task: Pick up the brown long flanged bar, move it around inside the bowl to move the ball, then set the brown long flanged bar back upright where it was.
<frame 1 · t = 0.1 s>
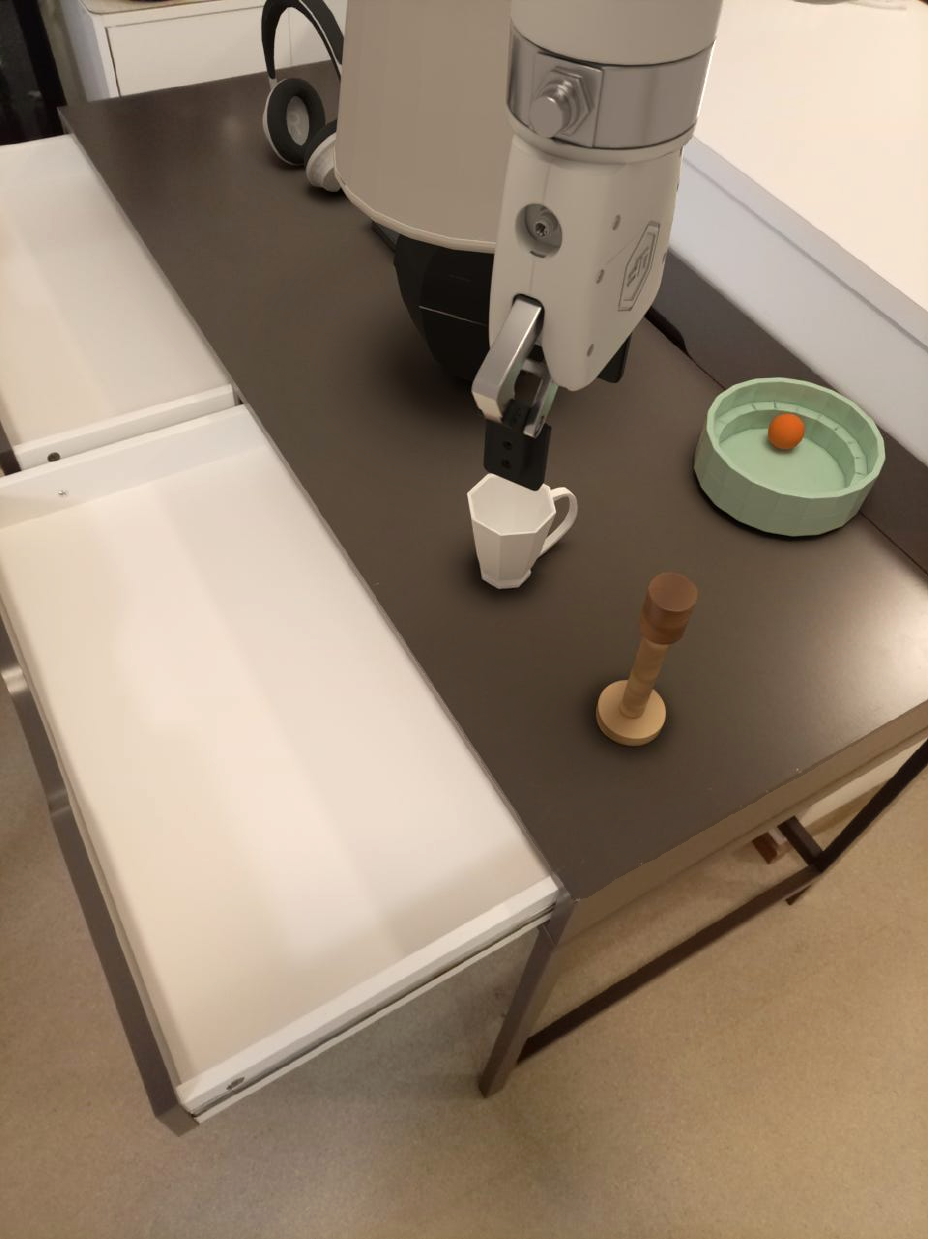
hand: (556, 422, 48), 25 cm above the table, tool pointing down, fingers open, 9 cm apart
phone: (442, 228, 105), on the table
table lamp: (485, 368, 90), on the table
cup: (519, 564, 75), on the table
brown long flanged bar: (629, 716, 66), on the table
headphones: (320, 176, 112), on the table
bowl: (775, 479, 82), on the table
ball: (786, 431, 82), point 2 cm above the table, touching bowl
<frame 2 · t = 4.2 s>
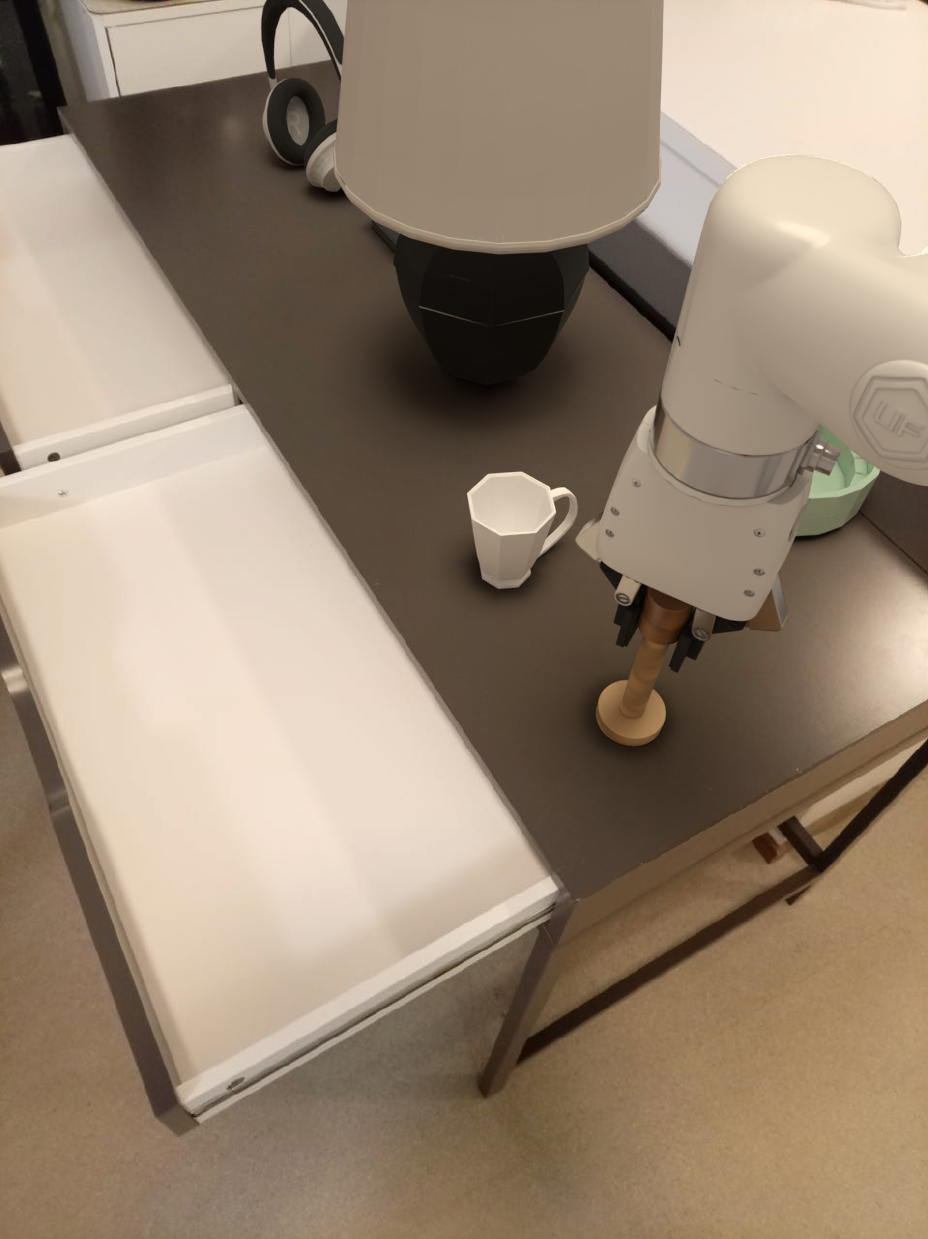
hand: (655, 641, 59), 10 cm above the table, tool pointing down, fingers closed on brown long flanged bar, 3 cm apart
brown long flanged bar: (629, 716, 66), on the table, touching gripper
everything else where it was.
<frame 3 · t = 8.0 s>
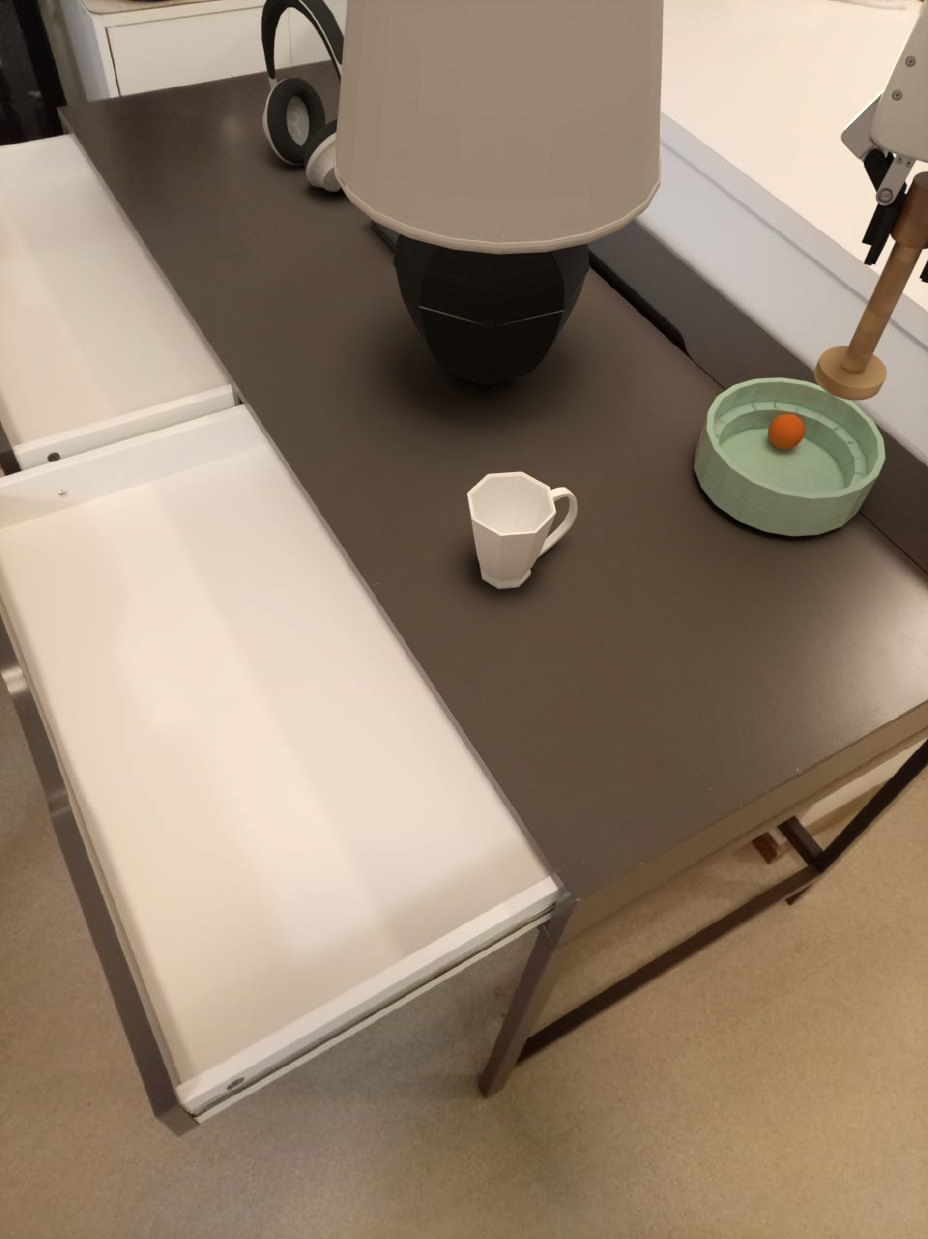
hand: (901, 261, 60), 24 cm above the table, tool pointing down, fingers closed on brown long flanged bar, 3 cm apart
brown long flanged bar: (846, 379, 68), point 14 cm above the table, touching gripper
everything else where it was.
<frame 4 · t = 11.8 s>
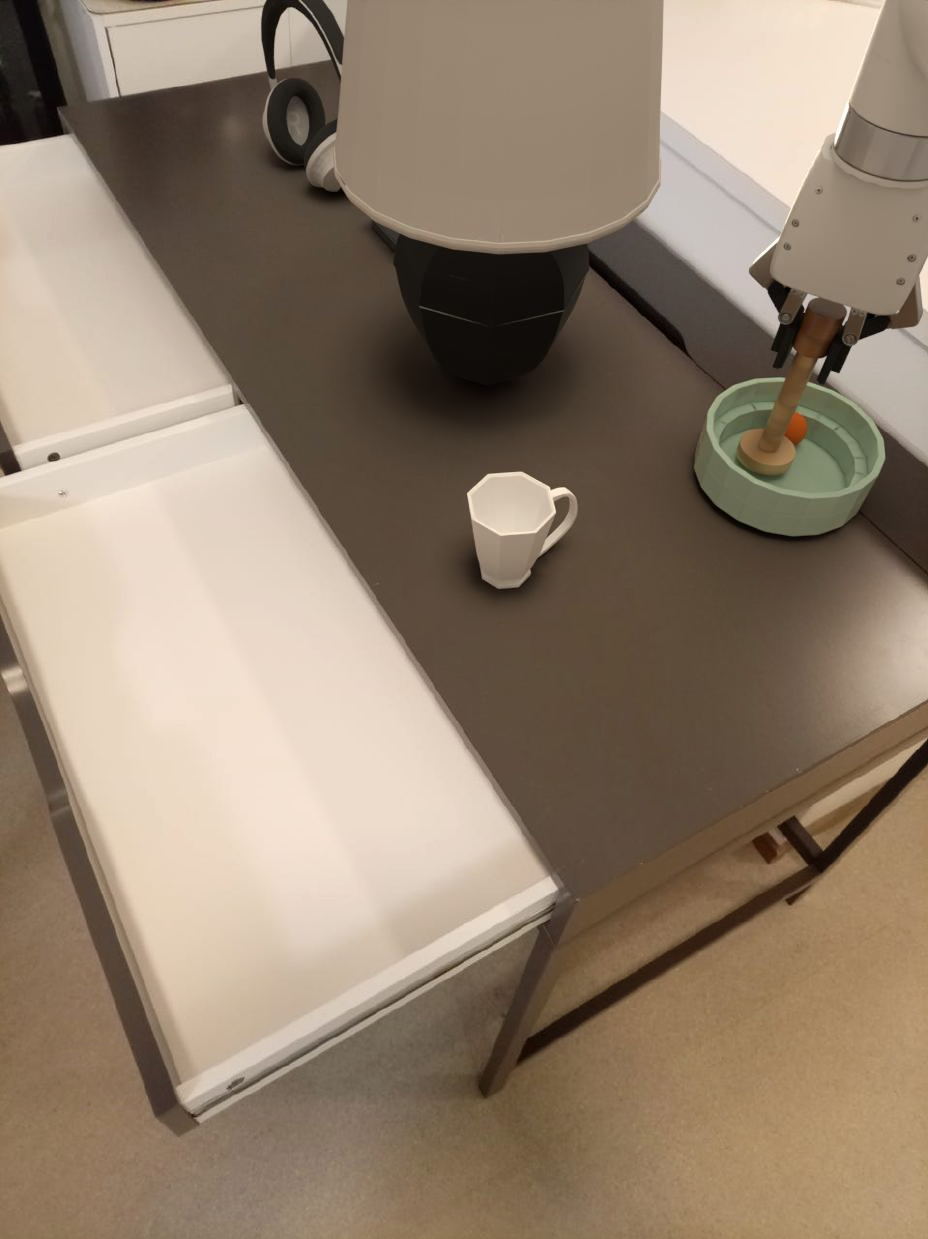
hand: (803, 365, 73), 12 cm above the table, tool pointing down, fingers closed on brown long flanged bar, 3 cm apart
brown long flanged bar: (763, 456, 81), point 2 cm above the table, touching ball, gripper
ball: (788, 429, 82), point 2 cm above the table, tilted 14°, touching bowl, brown long flanged bar
everything else where it was.
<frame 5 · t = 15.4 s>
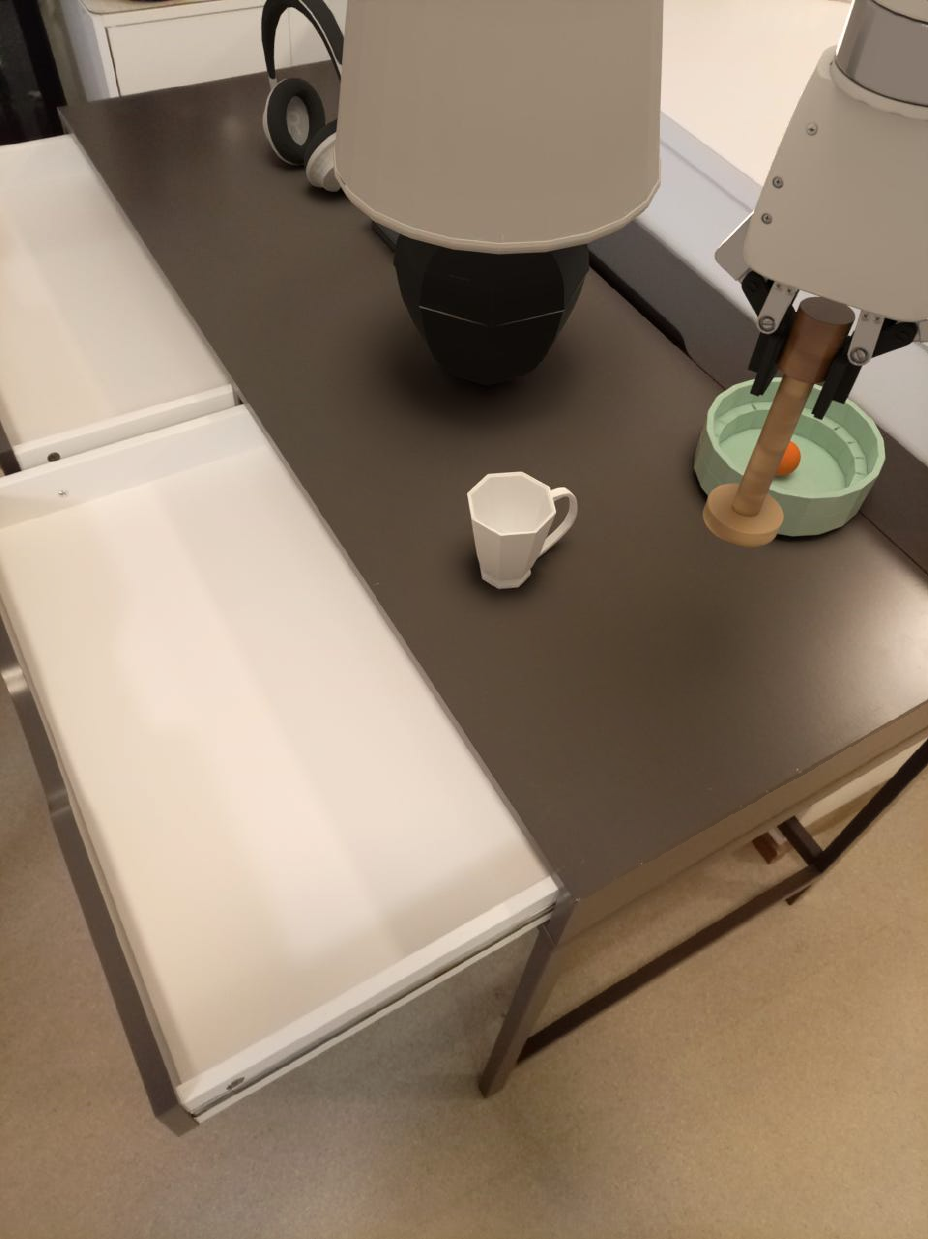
hand: (794, 391, 52), 24 cm above the table, tool pointing down, fingers closed on brown long flanged bar, 3 cm apart
brown long flanged bar: (739, 521, 59), point 14 cm above the table, tilted 7°, touching gripper
ball: (781, 457, 80), point 2 cm above the table, tilted 137°, touching bowl
everything else where it was.
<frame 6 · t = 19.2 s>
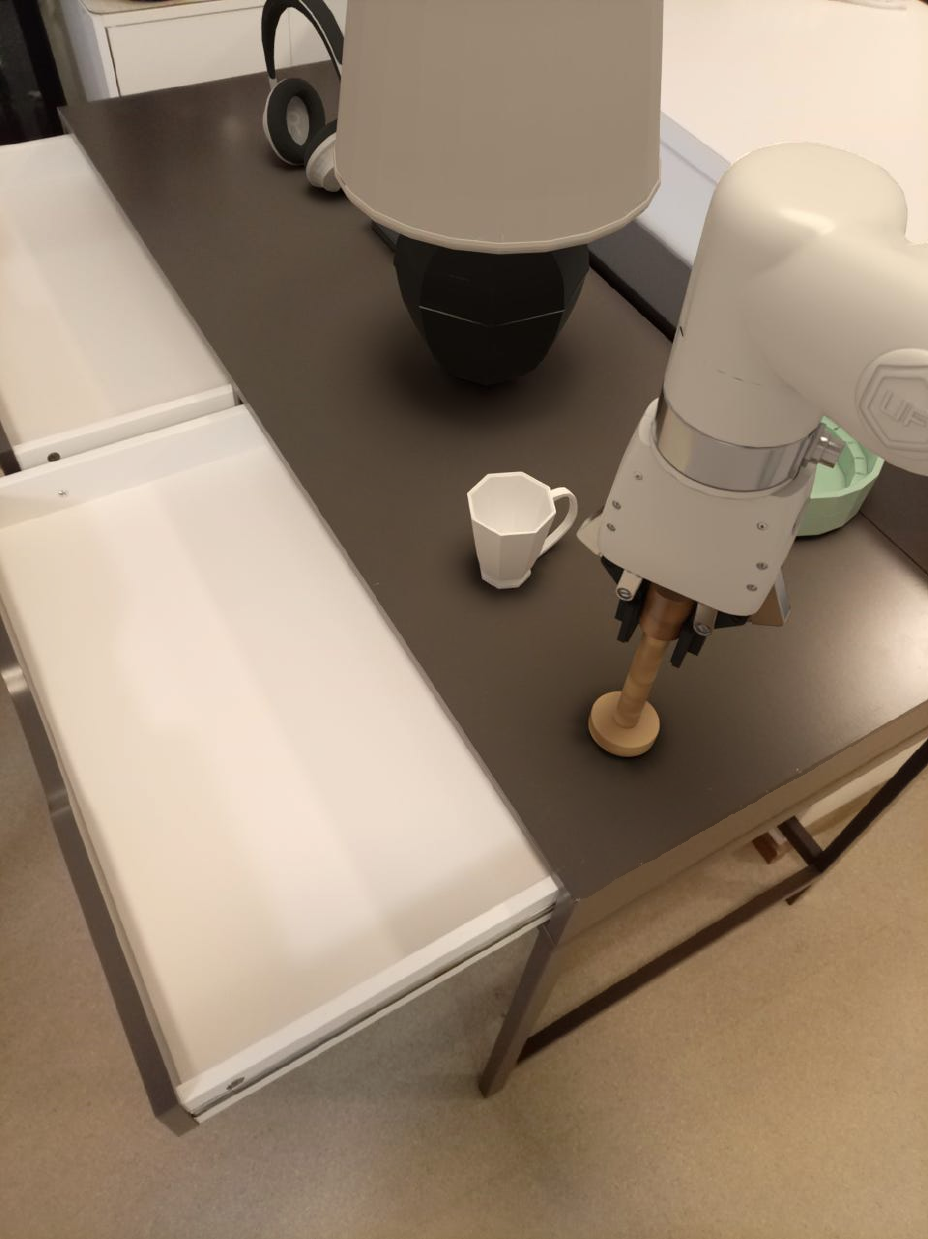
hand: (656, 637, 58), 10 cm above the table, tool pointing down, fingers closed on brown long flanged bar, 3 cm apart
brown long flanged bar: (621, 728, 65), point 1 cm above the table, tilted 7°, touching gripper
ball: (765, 488, 78), point 2 cm above the table, tilted 63°, touching bowl
everything else where it was.
when the fingers open (10 cm above the table, at t = 19.5 s): brown long flanged bar stays where it is, on the table.
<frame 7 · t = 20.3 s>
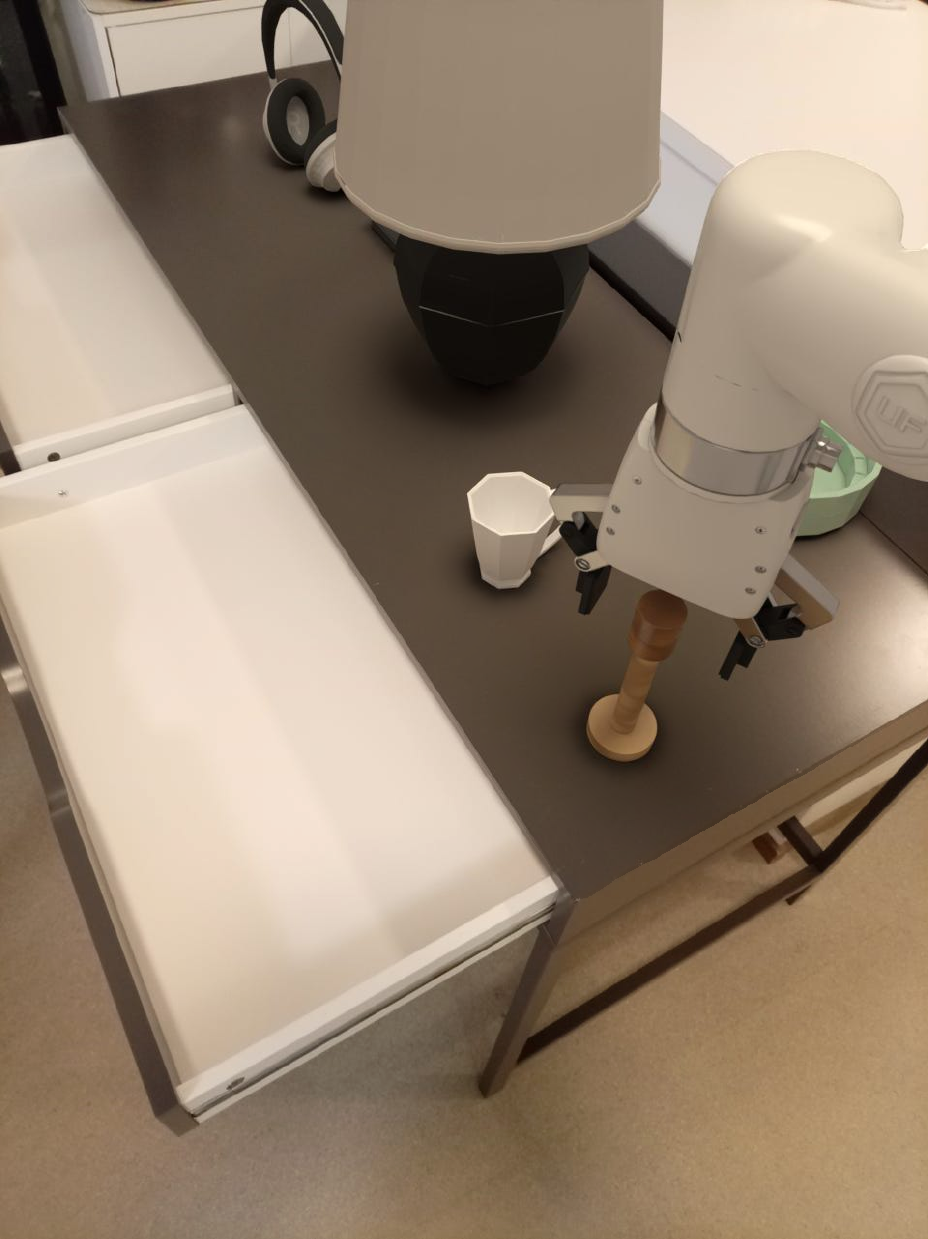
hand: (659, 630, 57), 11 cm above the table, tool pointing down, fingers open, 9 cm apart
brown long flanged bar: (620, 731, 66), on the table
ball: (767, 484, 78), point 2 cm above the table, tilted 81°, touching bowl
everything else where it was.
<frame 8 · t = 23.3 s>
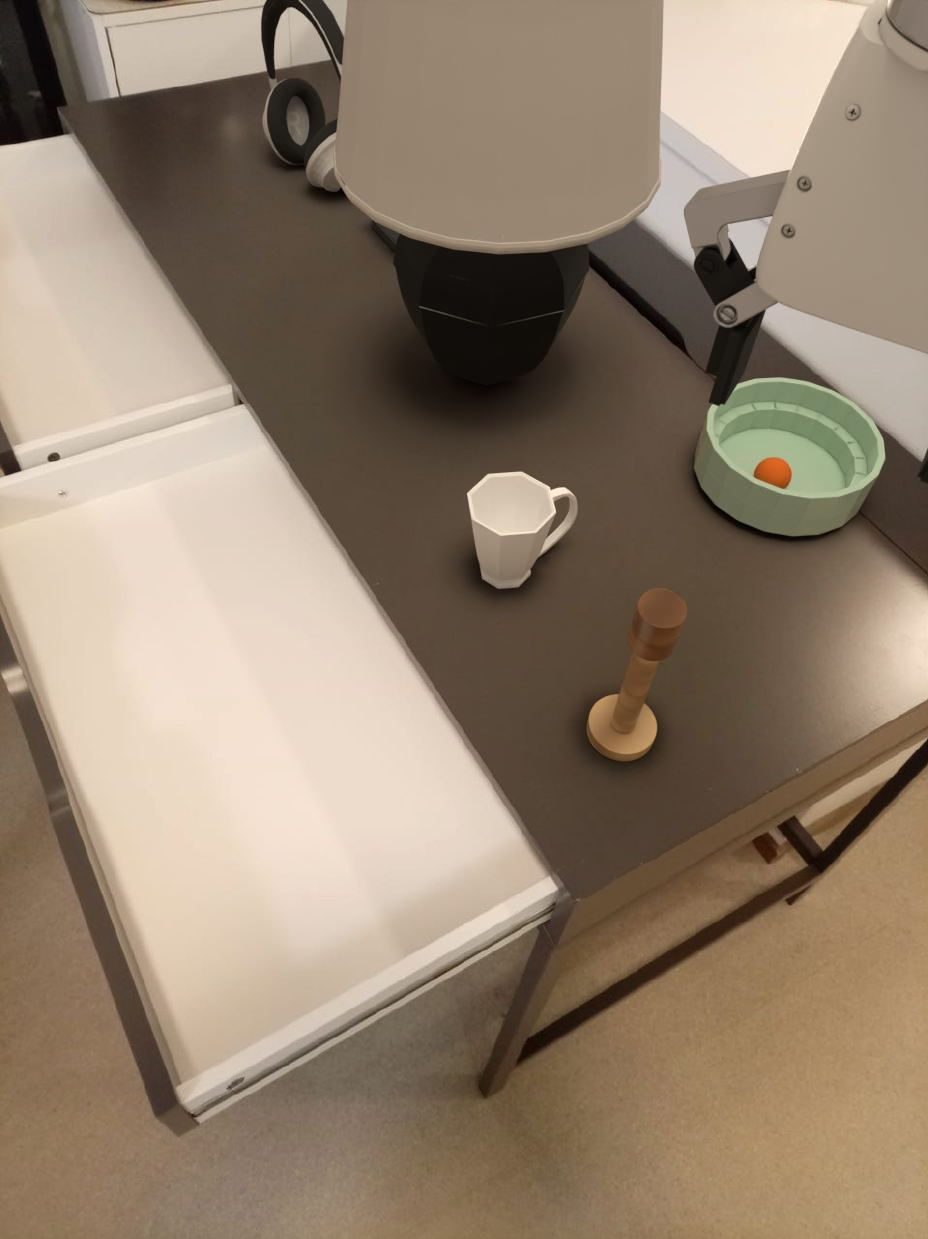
hand: (825, 425, 41), 30 cm above the table, tool pointing down, fingers open, 9 cm apart
ball: (772, 475, 79), point 2 cm above the table, tilted 128°, touching bowl
everything else where it was.
at the end: ball moved 6.2 cm from its start; brown long flanged bar inside the target area (1.5 cm from its centre), on the table; brown long flanged bar tilted 0° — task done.
